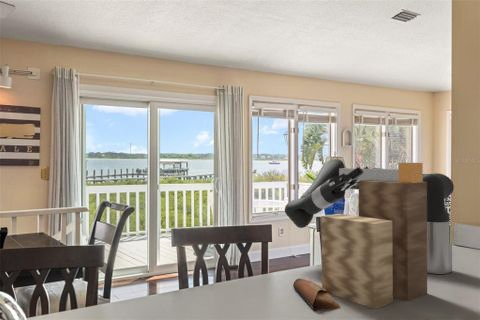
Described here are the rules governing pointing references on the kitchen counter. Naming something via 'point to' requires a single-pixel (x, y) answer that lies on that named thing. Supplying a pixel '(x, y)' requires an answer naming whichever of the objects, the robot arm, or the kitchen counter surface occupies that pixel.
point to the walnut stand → (401, 230)
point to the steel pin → (391, 173)
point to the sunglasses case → (315, 295)
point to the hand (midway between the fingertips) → (364, 169)
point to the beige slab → (358, 259)
